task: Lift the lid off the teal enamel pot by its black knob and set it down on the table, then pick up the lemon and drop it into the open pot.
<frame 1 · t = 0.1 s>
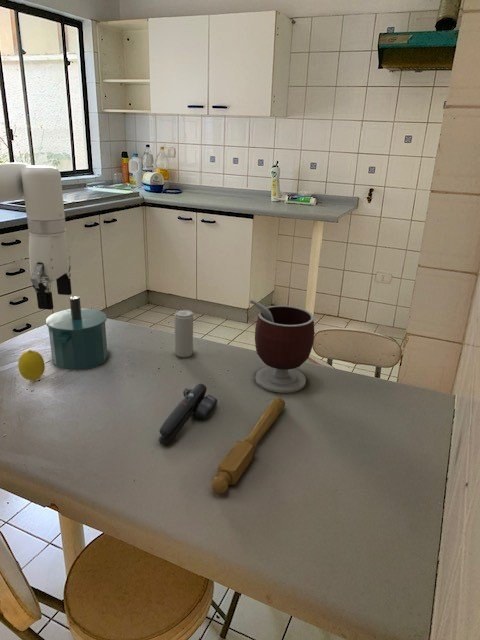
hand: (55, 301, 106), 18 cm above the table, tool pointing down, fingers open, 9 cm apart
can opener: (185, 423, 95), on the table
pot: (80, 357, 120), on the table
beverage can: (184, 355, 124), on the table
lid: (76, 320, 116), point 10 cm above the table, touching pot
tap handle: (251, 447, 89), on the table
mate gourd: (277, 379, 114), on the table
lemon: (34, 381, 108), on the table
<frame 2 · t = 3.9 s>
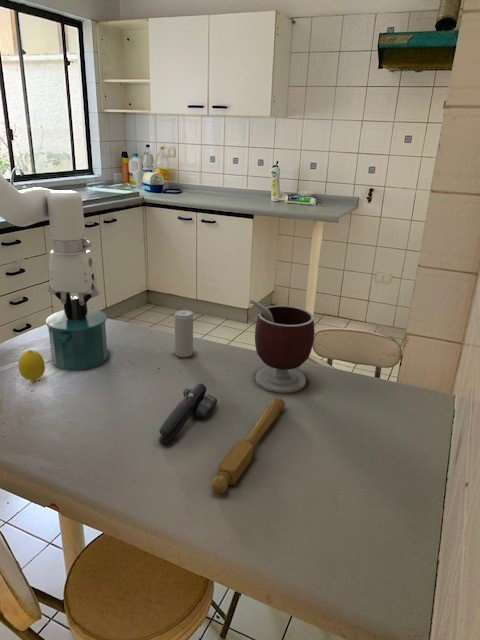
hand: (76, 317, 116), 11 cm above the table, tool pointing down, fingers closed on lid, 2 cm apart
lid: (76, 320, 116), point 11 cm above the table, touching gripper, pot
everything else where it was.
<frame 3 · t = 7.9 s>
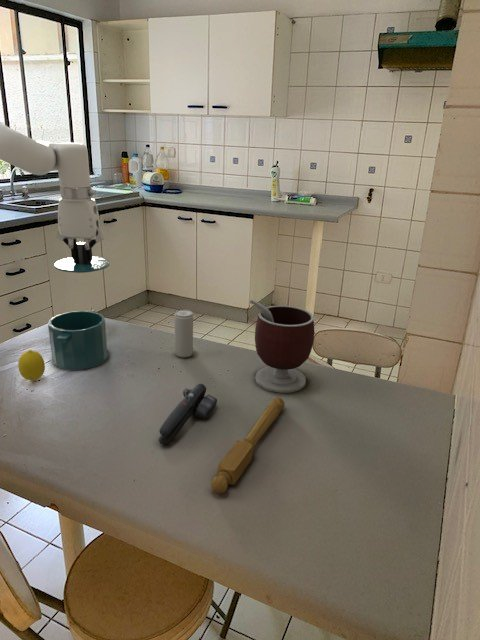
hand: (82, 262, 127), 21 cm above the table, tool pointing down, fingers closed on lid, 2 cm apart
lid: (82, 265, 127), point 20 cm above the table, touching gripper
everything else where it was.
when the fingers open (3 cm above the table, at t = 11.8 s): lid drops 2 cm, point 1 cm above the table.
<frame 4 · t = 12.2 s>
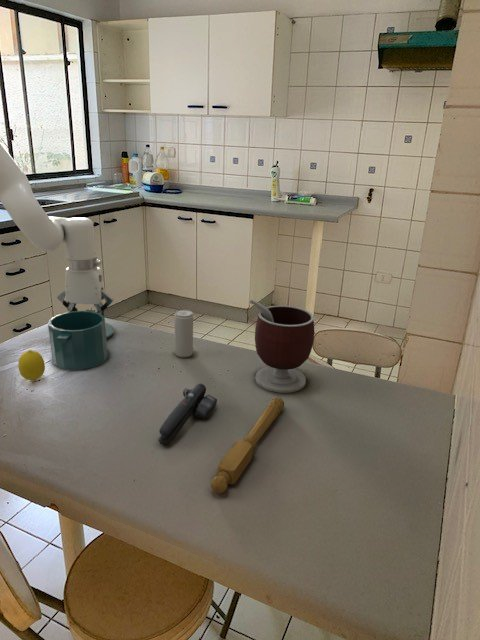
hand: (87, 323, 134), 3 cm above the table, tool pointing down, fingers open, 6 cm apart
lid: (88, 332, 133), point 1 cm above the table
everything else where it was.
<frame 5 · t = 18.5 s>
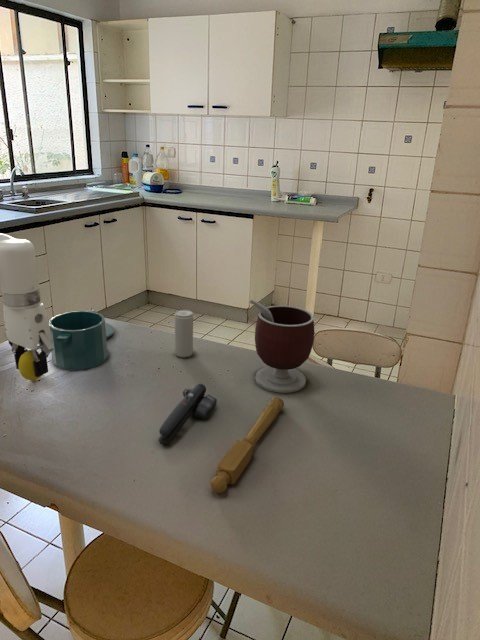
hand: (32, 370, 107), 3 cm above the table, tool pointing down, fingers closed on lemon, 5 cm apart
lemon: (34, 381, 108), on the table, touching gripper
everything else where it was.
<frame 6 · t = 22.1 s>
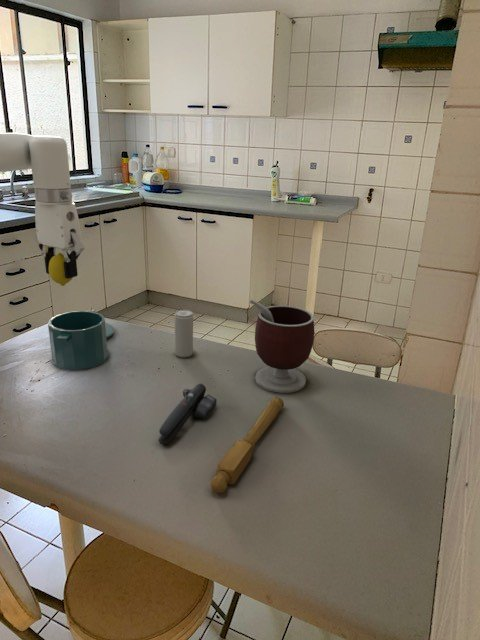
hand: (61, 274, 109), 23 cm above the table, tool pointing down, fingers closed on lemon, 5 cm apart
lemon: (63, 286, 110), point 20 cm above the table, touching gripper
everything else where it was.
when the fingers open (11 cm above the table, at t = 25.7 s): lemon drops 7 cm, resting on pot.
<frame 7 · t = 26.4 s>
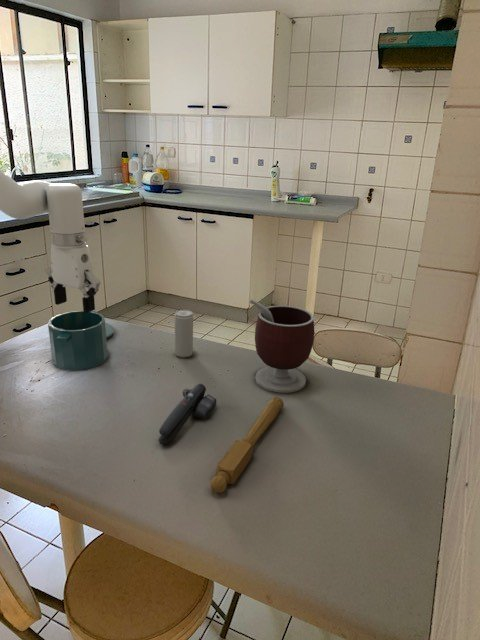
hand: (75, 307, 115), 14 cm above the table, tool pointing down, fingers open, 9 cm apart
lemon: (80, 353, 119), point 1 cm above the table, touching pot
everything else where it was.
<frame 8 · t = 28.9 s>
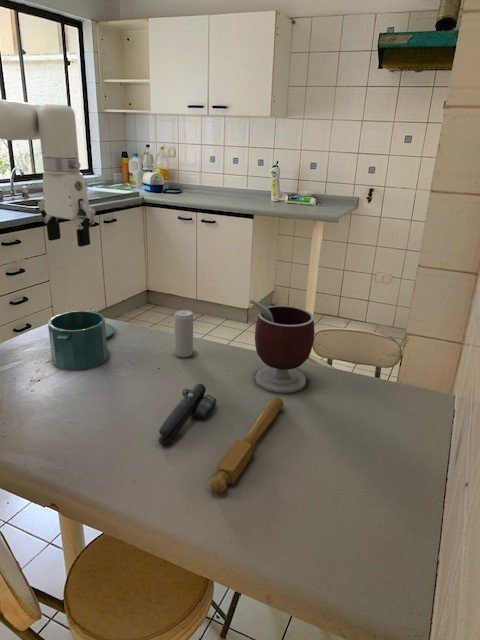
hand: (69, 242, 109), 30 cm above the table, tool pointing down, fingers open, 9 cm apart
nothing on the table moved.
at the end: lid inside the target area (1.7 cm from its centre), point 0.6 cm above the table; lemon inside the target area in the pot (0.1 cm from its centre), point 1.2 cm above the pot's base; the gripper is holding nothing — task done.
